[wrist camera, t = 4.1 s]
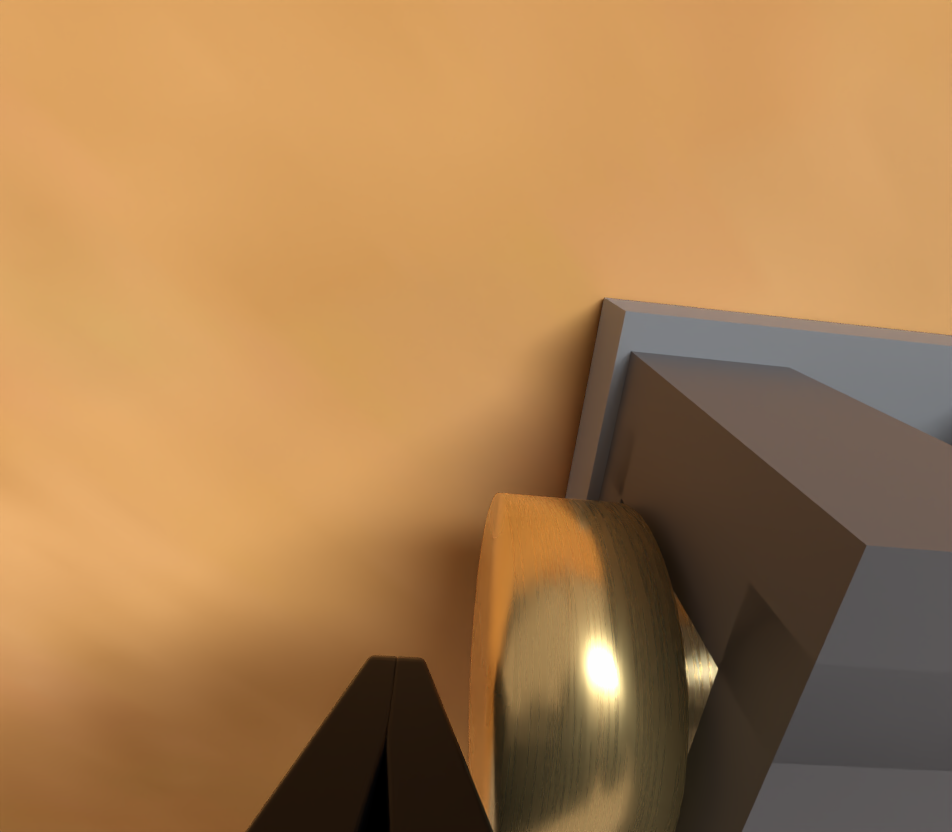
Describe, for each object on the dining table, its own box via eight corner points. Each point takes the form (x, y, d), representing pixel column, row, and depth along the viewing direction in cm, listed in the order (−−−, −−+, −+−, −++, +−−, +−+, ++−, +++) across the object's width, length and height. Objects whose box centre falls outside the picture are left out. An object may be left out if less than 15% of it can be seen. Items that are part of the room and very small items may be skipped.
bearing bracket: (1142, 356, 12) (2143, 576, 5) (948, 698, 15) (1361, 1110, 8) (603, 297, 11) (869, 461, 4) (531, 674, 14) (601, 1113, 7)
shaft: (1226, 506, 11) (1806, 732, 6) (1097, 692, 13) (1473, 977, 8) (495, 442, 10) (532, 657, 5) (466, 655, 12) (474, 959, 7)
